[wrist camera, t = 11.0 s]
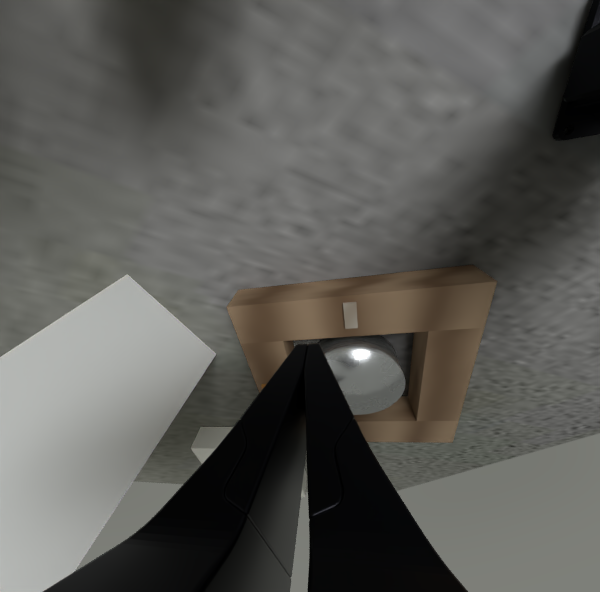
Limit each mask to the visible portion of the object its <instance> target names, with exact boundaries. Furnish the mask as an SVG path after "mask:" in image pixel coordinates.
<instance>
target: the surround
mask: <svg viewBox="0 0 600 592" xmlns="http://www.w3.org/2000/svg"><path fill="white" fill-rule="evenodd" d="M496 284H497V281H496V280H495V279H493V278H492V277H490V276H489V275H487V274H486V273H485V272H483V271H482V270H480V269H479V268H477V267H476V266H474V265H465V266H456V267H446V268H437V269H428V270H419V271H409V272H400V273H391V274H382V275H372V276H363V277H354V278H345V279H335V280H326V281H317V282H308V283H298V284H289V285H280V286H271V287H262V288H252V289H243V290H238V291H237V293H236V294H235V296H234V297H233V299H232V300H231V302H230V303H229V304H228V306H227V310H228V312H229V315H230V318H231V320H232V323H233V325H234V328H235V331H236V333H237V336H238V338H239V341H240V344H241V346H242V349H243V351H244V354H245V357H246V359H247V362H248V364H249V367H250V370H251V372H252V375H253V377H254V380H255V383H256V385H257V388H258V390H259V393H260V392H261V390H262V389H263V388H264V386H265V385H266V384H267V383H268V381H269V380H270V379H271V377H272V376H273V375H274V373H275V372H276V371H277V370H278V368H279V367H280V366H281V364H282V363H283V362H284V360H285V359H286V358H287V357H288V355H289V354H290V353H291V351H292V350H293V349H294V345H293V341H292V340H306V339H321V338H336V337H351V336H366V335H381V334H397V333H412V332H414V336H413V347H412V358H411V369H410V380H409V390H408V396H401V397H400V398H399V399H398V400H397V401H396V402H395V403H394V404H393V405H391V406H390V407H388V408H386V409H384V410H381V411H379V412H375V413H371V414H364V415H354V418H355V419H356V421H357V423H358V425H359V427H360V429H361V432H362V433H363V435H364V437H365V439H366V441H367V442H448V443H453V439H454V435H455V432H456V428H457V425H458V421H459V417H460V414H461V410H462V407H463V403H464V399H465V396H466V392H467V389H468V385H469V381H470V378H471V374H472V371H473V367H474V363H475V360H476V356H477V353H478V349H479V345H480V342H481V338H482V335H483V331H484V327H485V324H486V320H487V317H488V313H489V309H490V306H491V302H492V299H493V295H494V291H495V288H496Z"/></svg>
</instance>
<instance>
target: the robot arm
mask: <svg viewBox="0 0 600 592" xmlns="http://www.w3.org/2000/svg"><path fill="white" fill-rule="evenodd" d="M567 126H568V131H567V132H566V133H565V134H564V130H565V128H566V127H567ZM597 134H600V0H593V3H592V6H591V9H590V12H589V16H588V19H587V22H586V26H585V29H584V32H583V36H582V38H581V40H580V44H579V47H578V50H577V54H576V57H575V60H574V63H573V67H572V70H571V73H570V77H569V80H568V83H567V87H566V90H565V93H564V97H563V101H562V105H561V108H560V111H559V115H558V118H557V121H556V125H555V128H554V131H553V138H554V139H555V140H556V141H561V140H569V139H574V138H580V137H586V136H591V135H597ZM240 419H241V420H238V421H237V423H236V424H235V425H234V427H233V428H232V429H231V431H230V432H229V433H228V434H227V435H226V437H225V438H224V439H223V440H222V442H221V443H220V444H219V445H218V447H217V448H216V449H215V450H214V451H213V452H212V453H211V455H210V456H209V457H208V458H207V459H206V460H205V461H204V463H203V464H202V465H201V466H200V467H199V468H198V469H197V470H196V471H195V472H194V473H193V475H192V476H191V477H190V478H189V479H188V480H187V481H186V482H185V483H184V484H183V486H182V487H181V488H180V489H179V490H178V491H177V492H176V493H175V494H174V496H173V497H172V498H171V499H170V500H169V501H168V502H167V503H166V504H165V505H164V506H163V508H162V509H161V510H160V511H159V512H158V513H157V514H156V515H155V516H154V517H153V518H152V519H151V520H150V521H148V522H147V523H146V524H145V525H144V526H143V527H142V528H140V529H139V530H138V531H137V532H136V533H134V534H133V535H132V536H130V537H129V538H128V539H126V540H125V541H123V542H122V543H120V544H118V545H117V546H115V547H114V548H112V549H110V550H109V551H107V552H106V553H104V554H102V555H101V556H99V557H97V558H96V559H94V560H93V561H91V562H89V563H88V564H86V565H85V566H83V567H81V568H80V569H78V570H76V571H75V572H73V573H72V574H70V575H68V576H67V577H65V578H64V579H62V580H60V581H59V582H57V583H56V584H54V585H52V586H51V587H49V588H47V589H46V590H44V591H43V592H290V586H291V578H290V577H291V576H292V568H293V559H294V551H295V542H296V534H297V526H298V517H299V508H300V500H301V492H302V484H303V475H304V467H305V458H306V450H307V475H308V502H309V503H308V504H309V519H310V521H309V531H310V559H309V577H308V592H468V591H467V590H466V589H465V587H464V586H463V585H462V584H461V583H460V582H459V580H458V579H457V578H456V577H455V576H454V574H453V573H452V572H451V571H450V570H449V568H448V567H447V566H446V565H445V564H444V562H443V561H442V560H441V558H440V557H439V555H438V554H437V552H436V551H435V550H434V548H433V547H432V545H431V544H430V542H429V541H428V539H427V538H426V537H425V535H424V534H423V532H422V530H421V529H420V528H419V526H418V524H417V523H416V521H415V520H414V518H413V517H412V515H411V513H410V512H409V510H408V509H407V507H406V505H405V504H404V502H403V501H402V499H401V498H400V496H399V495H398V493H397V491H396V490H395V488H394V487H393V485H392V483H391V482H390V480H389V479H388V477H387V475H386V474H385V472H384V471H383V469H382V467H381V466H380V464H379V462H378V461H377V459H376V457H375V456H374V454H373V452H372V451H371V449H370V447H369V445H368V443H367V441H366V439H365V437H364V435H363V433H362V432H361V429H360V427H359V425H358V423H357V421H356V419H355V418H354V415H353V413H352V411H351V409H350V407H349V405H348V403H347V400H346V398H345V396H344V394H343V392H342V390H341V388H340V386H339V384H338V382H337V379H336V377H335V375H334V373H333V371H332V369H331V367H330V365H329V363H328V361H327V359H326V356H325V354H324V352H323V350H322V348H321V346H320V344H319V343H311V344H308V345H307V344H298V345H296V346H295V347H294V349H293V350H292V351H291V353H290V354H289V355H288V357H287V358H286V359H285V360H284V362H283V363H282V364H281V366H280V367H279V368H278V370H277V371H276V372H275V373H274V375H273V376H272V377H271V379H270V380H269V381H268V383H267V384H266V385H265V386H264V388H263V389H262V390H261V392H260V393H259V394H258V396H257V397H256V398H255V399H254V401H253V402H252V403H251V405H250V406H249V407H248V409H247V410H246V411H245V412H244V414H243V415H242V416H241V418H240Z"/></svg>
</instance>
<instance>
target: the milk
mask: <svg viewBox="0 0 600 592" xmlns="http://www.w3.org/2000/svg"><path fill="white" fill-rule="evenodd" d="M215 356H216V353H215V352H214V351H212V350H211V349H210V348H209V347H208V346H207V345H206V344H205V343H203V342H202V341H201V340H200V339H199V338H198V337H197V336H196V335H195V334H193V333H192V332H191V331H190V330H189V329H188V328H187V327H186V326H185V325H183V324H182V323H181V322H180V321H179V320H178V319H177V318H176V317H174V316H173V315H172V314H171V313H170V312H169V311H168V310H167V309H166V308H164V307H163V306H162V305H161V304H160V303H159V302H158V301H157V300H155V299H154V298H153V297H152V296H151V295H150V294H149V293H148V292H147V291H145V290H144V289H143V288H142V287H141V286H140V285H139V284H138V283H136V282H135V281H134V280H133V279H132V278H131V277H130V276H129V275H128V274H127V275H125V276H124V277H122V278H121V279H119V280H118V281H116V282H115V283H113V284H112V285H110V286H108V287H107V288H105V289H104V290H102V291H101V292H99V293H98V294H96V295H95V296H93V297H92V298H90V299H89V300H87V301H86V302H84V303H82V304H81V305H79V306H78V307H76V308H75V309H73V310H72V311H70V312H69V313H67V314H66V315H64V316H63V317H61V318H59V319H58V320H56V321H55V322H53V323H52V324H50V325H49V326H47V327H46V328H44V329H43V330H41V331H40V332H38V333H36V334H35V335H33V336H32V337H30V338H29V339H27V340H26V341H24V342H23V343H21V344H20V345H18V346H17V347H15V348H13V349H12V350H10V351H9V352H7V353H6V354H4V355H3V356H1V357H0V592H43V591H44V590H46V589H47V588H49V587H51V586H52V585H54V584H56V583H57V582H59V581H60V580H62V579H64V578H65V577H67V576H68V575H70V574H72V573H73V572H74V571H75V570H76V568H77V567H78V565H79V564H80V562H81V561H82V559H83V558H84V556H85V555H86V553H87V552H88V550H89V548H90V547H91V545H92V544H93V542H94V541H95V539H96V538H97V536H98V535H99V533H100V531H101V530H102V529H103V527H104V525H105V524H106V522H107V521H108V519H109V518H110V516H111V515H112V513H113V512H114V510H115V509H116V507H117V506H118V504H119V502H120V501H121V499H122V498H123V496H124V495H125V493H126V492H127V490H128V489H129V487H130V486H131V484H132V483H133V481H134V480H135V478H136V477H137V475H138V473H139V472H140V470H141V469H142V467H143V466H144V464H145V463H146V461H147V460H148V458H149V457H150V455H151V454H152V452H153V451H154V449H155V447H156V446H157V444H158V443H159V441H160V440H161V438H162V437H163V435H164V434H165V432H166V431H167V429H168V428H169V426H170V424H171V423H172V421H173V420H174V418H175V417H176V415H177V414H178V412H179V411H180V409H181V408H182V406H183V405H184V403H185V402H186V400H187V398H188V397H189V395H190V394H191V392H192V391H193V389H194V388H195V386H196V385H197V383H198V382H199V380H200V379H201V377H202V376H203V374H204V372H205V371H206V369H207V368H208V366H209V365H210V363H211V362H212V360H213V359H214V357H215Z"/></svg>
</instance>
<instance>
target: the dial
mask: <svg viewBox="0 0 600 592" xmlns="http://www.w3.org/2000/svg"><path fill="white" fill-rule="evenodd" d="M319 344H320V346H321V348H322V350H323V352H324V354H325V356H326V359H327V361H328V363H329V365H330V367H331V369H332V371H333V373H334V375H335V377H336V379H337V382H338V384H339V386H340V388H341V390H342V392H343V394H344V396H345V398H346V400H347V403H348V405H349V407H350V409H351V411H352V413H353V415H364V414H371V413H375V412H379V411H381V410H384V409H386V408H388V407H390V406H391V405H393V404H394V403H395V402H396V401H397V400H398V399H399V398H400V397H401V395H402V394H403V392H404V389H405V377H404V374H403V371H402V369H401V366H400V363H399V361H398V358H397V355H396V352H395V350H394V348H393V346H392V345H391V344H390V343H389V342H388V341H387V340H386V339H385V338H383V337H382V336H380V335H366V336H351V337H336V338H324V339H323V340H321V341H320V342H319Z"/></svg>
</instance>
